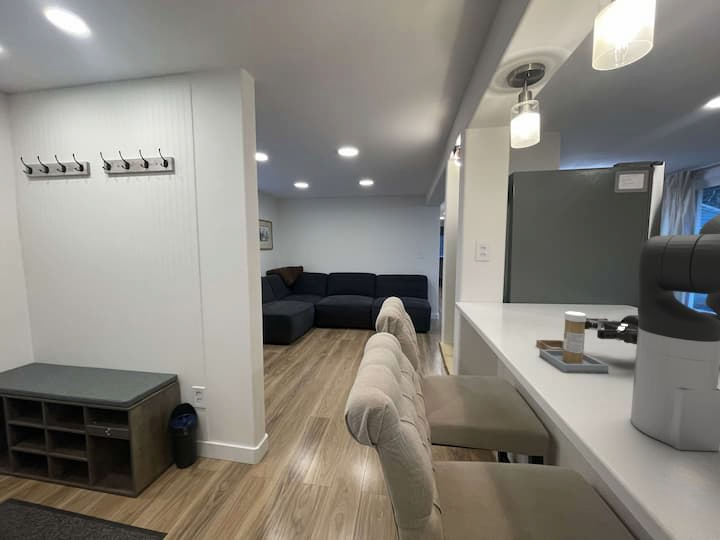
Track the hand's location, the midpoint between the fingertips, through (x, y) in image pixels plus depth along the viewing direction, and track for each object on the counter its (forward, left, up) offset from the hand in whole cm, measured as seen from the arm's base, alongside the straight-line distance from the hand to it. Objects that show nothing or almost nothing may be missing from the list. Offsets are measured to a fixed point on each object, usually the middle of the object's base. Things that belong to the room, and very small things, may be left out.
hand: (585, 329), depth 75 cm
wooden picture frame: (+10, +1, -10) cm, 14 cm away
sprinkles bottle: (0, +3, -9) cm, 10 cm away
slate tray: (0, +3, -10) cm, 10 cm away
